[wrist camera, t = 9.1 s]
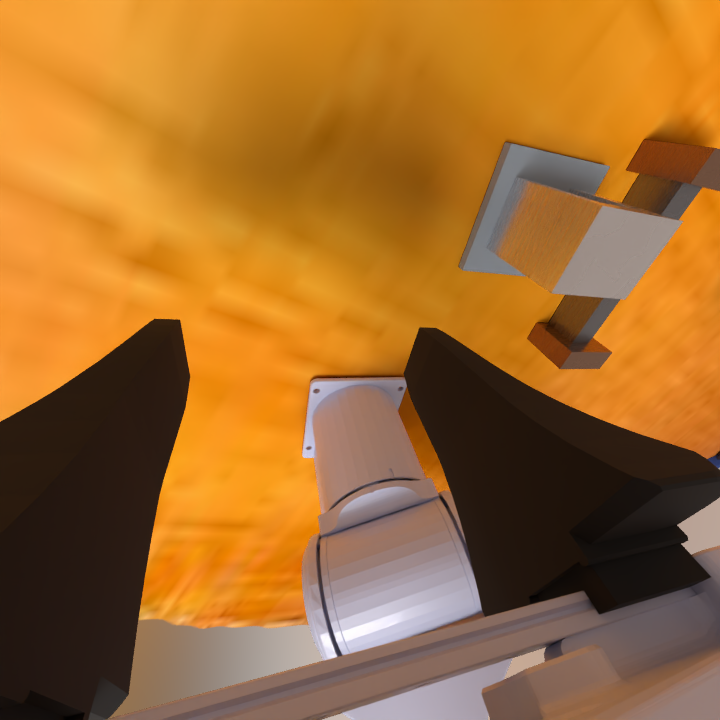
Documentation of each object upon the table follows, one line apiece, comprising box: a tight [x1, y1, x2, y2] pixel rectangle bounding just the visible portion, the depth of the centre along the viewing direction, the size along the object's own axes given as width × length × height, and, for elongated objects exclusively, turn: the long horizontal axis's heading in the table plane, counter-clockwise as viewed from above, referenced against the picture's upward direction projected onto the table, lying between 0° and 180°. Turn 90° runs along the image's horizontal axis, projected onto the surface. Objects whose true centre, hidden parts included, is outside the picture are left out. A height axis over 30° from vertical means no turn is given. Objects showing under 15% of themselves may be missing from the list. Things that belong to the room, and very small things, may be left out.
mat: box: [459, 142, 610, 276], centre depth 20 cm, size 7×7×1 cm
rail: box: [527, 140, 720, 369], centre depth 22 cm, size 14×4×4 cm, turn 169°
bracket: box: [486, 177, 683, 299], centre depth 18 cm, size 4×5×6 cm
